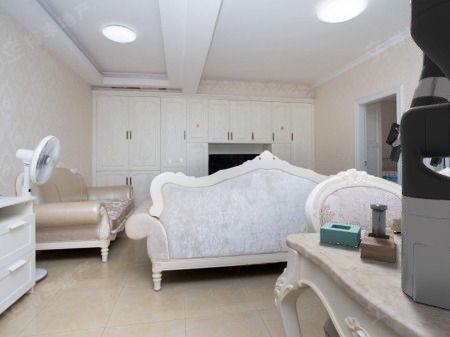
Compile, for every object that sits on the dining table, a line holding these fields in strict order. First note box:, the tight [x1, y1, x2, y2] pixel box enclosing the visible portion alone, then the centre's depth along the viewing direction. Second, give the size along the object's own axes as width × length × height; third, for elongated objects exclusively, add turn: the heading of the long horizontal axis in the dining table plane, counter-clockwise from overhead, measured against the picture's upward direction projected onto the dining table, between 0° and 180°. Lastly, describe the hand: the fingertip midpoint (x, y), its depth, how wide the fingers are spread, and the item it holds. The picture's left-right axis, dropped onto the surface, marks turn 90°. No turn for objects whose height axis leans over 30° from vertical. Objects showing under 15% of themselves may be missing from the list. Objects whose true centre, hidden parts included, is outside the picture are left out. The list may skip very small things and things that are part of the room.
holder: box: [319, 221, 362, 247], centre depth 76 cm, size 10×10×4 cm
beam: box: [360, 226, 396, 264], centre depth 68 cm, size 20×7×4 cm, turn 146°
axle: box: [370, 203, 388, 239], centre depth 68 cm, size 4×4×12 cm
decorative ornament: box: [389, 216, 401, 233], centre depth 85 cm, size 4×8×5 cm, turn 122°
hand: (412, 163), depth 61 cm, fingers open, 8 cm apart
